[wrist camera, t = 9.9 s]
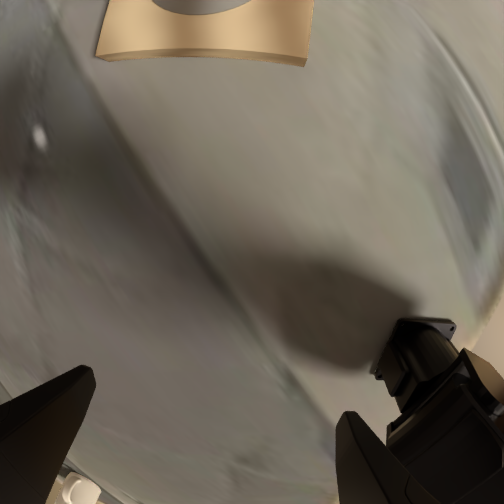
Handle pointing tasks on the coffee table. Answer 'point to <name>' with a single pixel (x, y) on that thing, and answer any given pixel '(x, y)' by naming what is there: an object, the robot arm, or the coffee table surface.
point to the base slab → (207, 30)
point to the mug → (77, 490)
